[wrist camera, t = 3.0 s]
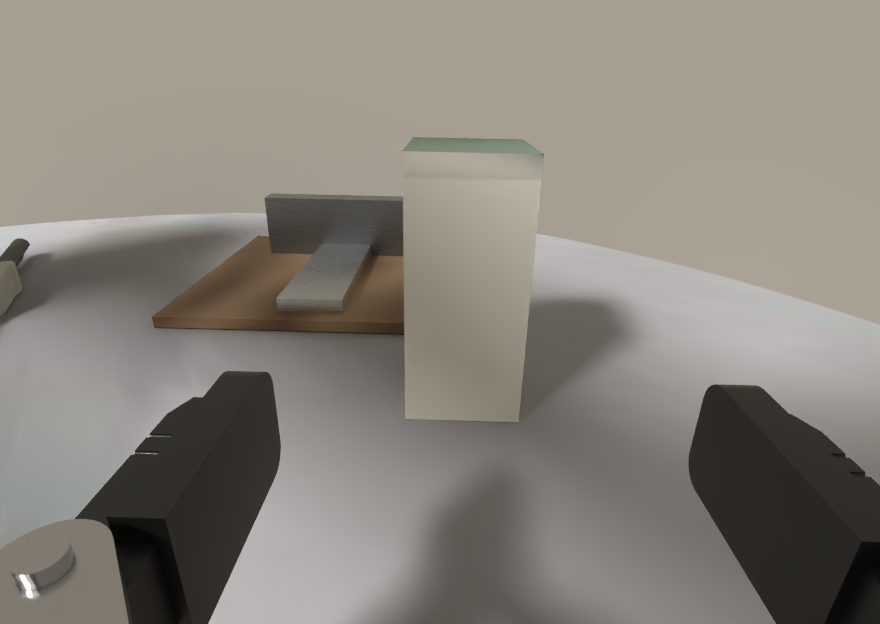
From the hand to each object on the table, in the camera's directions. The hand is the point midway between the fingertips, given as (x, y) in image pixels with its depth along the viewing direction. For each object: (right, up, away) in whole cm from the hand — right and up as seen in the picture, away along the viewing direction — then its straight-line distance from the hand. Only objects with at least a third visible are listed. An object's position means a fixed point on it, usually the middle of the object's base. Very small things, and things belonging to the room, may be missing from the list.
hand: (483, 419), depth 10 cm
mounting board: (-8, +4, +25) cm, 26 cm away
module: (0, -1, +13) cm, 13 cm away
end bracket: (-8, +6, +29) cm, 30 cm away
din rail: (-8, +4, +25) cm, 26 cm away
